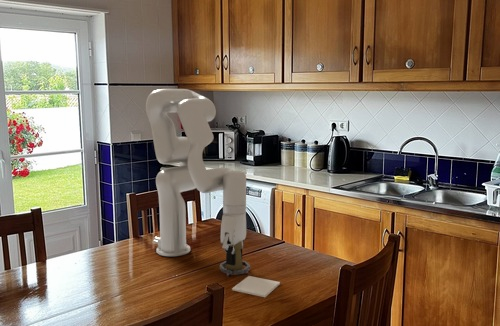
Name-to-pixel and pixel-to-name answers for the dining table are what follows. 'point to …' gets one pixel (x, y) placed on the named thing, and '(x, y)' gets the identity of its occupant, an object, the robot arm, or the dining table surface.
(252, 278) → the plate
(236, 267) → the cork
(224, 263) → the ring stand
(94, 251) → the dining table surface
